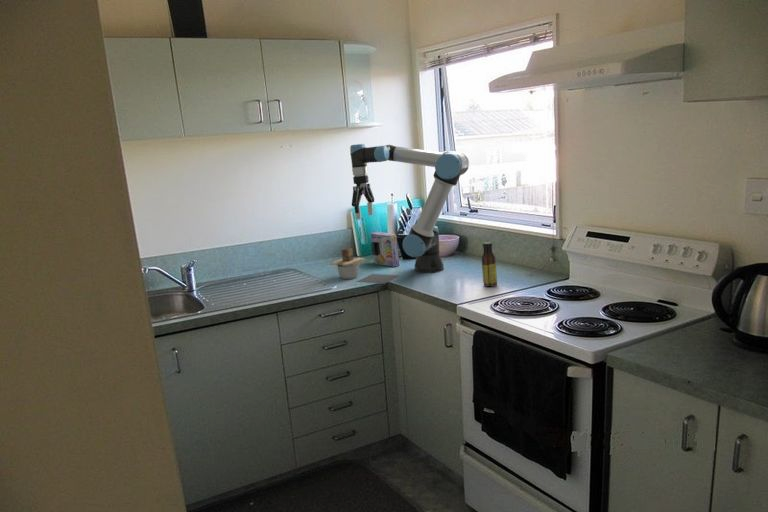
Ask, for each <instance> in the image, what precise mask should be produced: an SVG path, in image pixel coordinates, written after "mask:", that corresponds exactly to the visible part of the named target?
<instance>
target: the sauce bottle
mask: <svg viewBox="0 0 768 512" xmlns="http://www.w3.org/2000/svg"><path fill="white" fill-rule="evenodd" d="M482 248H483V254H482V255H481V269H482V282H483V286H484V287H486V286H494V287H496V286H497V285H498V274H497V262H496V256H495V254H494V252H493V242H491V241H485V242H482ZM495 285H496V286H495Z"/></svg>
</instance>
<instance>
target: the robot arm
mask: <svg viewBox="0 0 768 512" xmlns="http://www.w3.org/2000/svg"><path fill="white" fill-rule="evenodd" d="M349 150H350V151H349V152H350V160H351V167H352V168H351V170H352V175H353V177H352V179H353V184H355V185H356V186H355V185H354V186H352V199H351V206H352V207H353V208H354V212H355V213H354V215H355V220H362V213H361V211H362V210H361V207H360V203H361V199H362V196H364V197H365V199H366V201H367V202H366V204H367V205H366V206H367V214H368V216H374V206H373V203H374V202H375V197H374V194H373V191H372V188H371V184H370V182H369V175H368V174H369V173H368V164H369V163H383V162H387V161H389V162H390V161H391V162H398V163H406V164H411V165H412V164H413V165H417V166H424V167H426V166H427V167H432V168H434V169H435V171H434V174H433V175H432V176H433V178H434V181H433V183H432V186H431V188H430V191H429V193H428V196H427V197H426V201H425V202H424V205H423V206H422V210H421V212H420V215H419V217H418V219H417V222H416V223H415V224H413V225H412V226H411V228H410V230H409V233H408V234H407V235H406V236H404V238H403V240H402V249H403V251H404V252H405V254H406V255H407V256H409V257H411V258H415V259H416V260H415V262H414V271H415V272H417V273H425V274H426V273H438V272H442V271H443V270H444V269H445V268H444V263H443V259H442V257H441V255H440V252H441V251H440V231H439V227H438V225H437V226H436V224H437V222H438V219H439V217H440V214H441V212H442V210H443V208H444V205H445V203H446V201H447V199H448V196H449V194H450V192H451V190H452V187H455V186H457V184H458V181H459V179H460V177H461V176H462V175H464V174H465V173H466V172H467V171H468V170H469V167H470V160H469V156H467V153H465V152H462V151H459V150H455V151H450V150H445V151H442V152H440V151H434V150H433V151H432V150H426V149H420V148H419V149H418V148H411V147H405V146H404V147H403V146H395V145H392V144H386V145H378V146H377V145H376V146H369V147H366V145H365V143H357V144H351V145H350V147H349Z"/></svg>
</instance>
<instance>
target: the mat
mask: <svg viewBox="0 0 768 512" xmlns="http://www.w3.org/2000/svg"><path fill="white" fill-rule="evenodd" d="M398 277H400V275H398V274H397V275H396V274H385V273H384V274H381V273H371V274H369V275H366V276H365V277H363V278H361V279H359V280H357V281H356V283H370V284H383V285H385V284H387V283H389V282H390V281H392V280H394V279H396V278H398Z"/></svg>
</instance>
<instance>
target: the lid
mask: <svg viewBox="0 0 768 512" xmlns="http://www.w3.org/2000/svg"><path fill="white" fill-rule="evenodd" d="M353 252H354V251H353V248H352V247H345V248H342V249H341V258H339V259H336V260H334V261H332V262H330V265H331V266H337V265H343V266H354V265H356V264H358V265H359V264H360V263H362V262H364V261H366V258H365V257H364V258H363V257H354V253H353Z"/></svg>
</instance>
